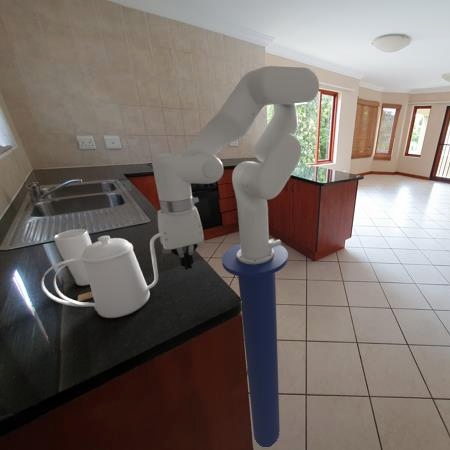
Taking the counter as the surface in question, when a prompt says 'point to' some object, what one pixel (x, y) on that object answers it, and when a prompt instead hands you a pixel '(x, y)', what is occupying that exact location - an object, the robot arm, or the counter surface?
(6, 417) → the counter surface
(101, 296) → the coffeepot
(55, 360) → the counter surface
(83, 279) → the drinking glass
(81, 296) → the marker strip
